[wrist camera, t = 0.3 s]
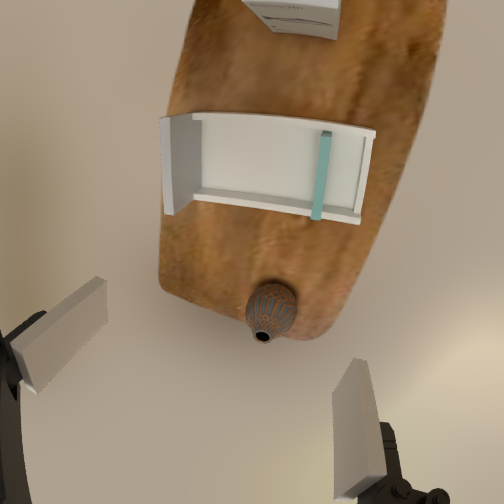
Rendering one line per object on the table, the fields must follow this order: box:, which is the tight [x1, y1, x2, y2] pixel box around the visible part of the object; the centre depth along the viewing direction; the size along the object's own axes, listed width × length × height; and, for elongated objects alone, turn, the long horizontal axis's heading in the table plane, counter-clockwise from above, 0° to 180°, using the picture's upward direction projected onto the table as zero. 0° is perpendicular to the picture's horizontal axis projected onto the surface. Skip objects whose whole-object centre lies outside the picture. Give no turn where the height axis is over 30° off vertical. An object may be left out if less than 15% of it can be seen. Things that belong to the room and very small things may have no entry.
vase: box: [246, 283, 297, 344], centre depth 39 cm, size 7×7×9 cm
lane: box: [160, 111, 376, 225], centre depth 30 cm, size 21×11×8 cm, turn 87°
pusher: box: [311, 130, 332, 221], centre depth 29 cm, size 1×8×6 cm, turn 177°
